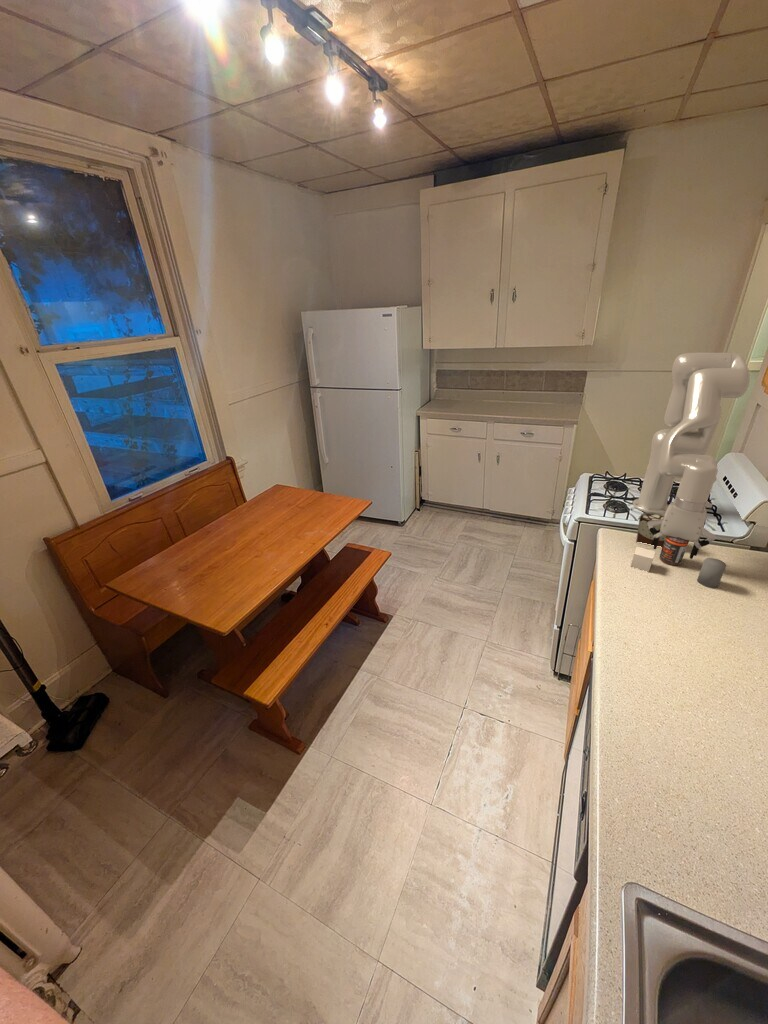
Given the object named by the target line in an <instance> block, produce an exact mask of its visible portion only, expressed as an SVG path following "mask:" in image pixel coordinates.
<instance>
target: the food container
mask: <svg viewBox="0 0 768 1024" xmlns="http://www.w3.org/2000/svg"><path fill="white" fill-rule="evenodd" d="M664 515H665V513H664V514H662V513H656V512H644V513H642V514H640V515H639V516H638V518H637V520H636V521H637V522H638V528H637V534H636V535H637V536H636V541H635V543H637V542H642V543H647V544H651V545H652V543H653V539H654V537H653V534H652V533H651V532H650V530H649V527H648V524H647V523H648V521H651V520H658V519H663V518H664ZM660 527H661V524H658V525H654V528H655V529H656V530H659V529H660ZM666 536H667V535H662V536H660V538H659V541H658V544H657V546H661V547H663V544H664V542H665V539H666Z"/></svg>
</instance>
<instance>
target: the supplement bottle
mask: <svg viewBox="0 0 768 1024" xmlns="http://www.w3.org/2000/svg"><path fill="white" fill-rule="evenodd" d="M689 543H690V541H689V540H684V539H681V538H679V537H672V536H668V535H667V536H666V539H665V542H664V544H663V547H662V548H661V550H660V553H659V557H658V558H659V559H660V561H661V562H663V563H664V564H666V565H671V566H678V565H680V564H682V561H683V559H684V557H685V554H686V551H687V548H688V546H689Z"/></svg>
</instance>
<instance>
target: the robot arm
mask: <svg viewBox="0 0 768 1024" xmlns="http://www.w3.org/2000/svg"><path fill="white" fill-rule="evenodd" d="M671 376H672V377H671V378H672V389H671V392H670V395H669V399H668V402H667V406H666V409H665V413H664V418H663V423H664V424H665V425H666V426H668V427H671V428H665V429H660V430H658V431H656V432H655V433H654V434H653V437H652V439H651V446H650V447H651V448H650V457H649V460H648V464H647V468H646V472H645V474H644V478H643V482H642V486H641V489H640V493H639V497H638V498H636V499H634V500H633V501H632V506H633V507H634V508H635V509H636V510H638V511H641V512H644V513H647V512H656V513H662V514H665V515H664V518H663V519H658V520H651V521H648V523H647V524H648V527H649V530H650V532H651V533H652V534H653V537H654V539H653V543H652V545H654V546H653V548H652V549H653V550H656V549H657V548H658V547H657V544H658V541H659V538H660V536H662V535H668V536H672V537H679V538H681V539H684V540H689V542H692V543H693V546H692V549H691V551H690V553H689V558H690V559H691V560H693V559H694V556H695V557H697V555H698V553H699V551H700V550H699V549H701V548H702V547H706V546H708V545H709V544H711V543H712V542H714V541H715V540H716V537H717V535H715V534H714V533H712V532H710V530H708V529H706V528H704V526H705V522H706V518H707V512H708V511H707V510H708V509H712V507H713V503H711V502H709V501H708V499H709V496H710V494H711V491H712V489H713V485H714V483H715V481H716V478H717V475H718V472H719V471H718V462H717V461H716V458H715V457H713V456H712V455H708V454H707V453H708V451H709V450H710V447H711V444H712V443H713V439H714V437H715V434H716V431H717V428H718V426H719V423H720V421H721V419H722V406H721V400H722V399H724V398H725V399H738V398H739V399H740V398H742V397H744V395H745V394H746V393H747V391H748V389H749V387H750V380H751V377H750V376H751V375H750V371H749V368H748V365H747V363H746V361H745V359H744V357H743V355H742V354H741V353H737V352H707V351H706V352H700V351H699V352H686V353H680V354H679V355H677V356H676V357H675V359H674V361H673V363H672V368H671ZM675 478H680V479H681V480H680V482H679V483H680V484H679V486H678V489H677V492H676V493H675V494H676V495H675V498H674V500H673V501H671V502H670V504H668V501H669V497H670V494H671V491H672V488H673V484H674V482H675ZM658 524H661V527H660V529H659V530H656V529H655V528H654V525H658ZM702 534H703V535H704V536H705V537H707V538H705V539H703V540H701V539H700V538H701V536H702Z"/></svg>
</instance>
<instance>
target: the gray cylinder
mask: <svg viewBox="0 0 768 1024" xmlns="http://www.w3.org/2000/svg"><path fill="white" fill-rule="evenodd" d="M726 568H727V564H726V562H724V561H722V560H720V559H718V558H714V557H707V558H705V559H704V561H703V564H702V566H701V568H700V571H699V574H698V576H697V579H696V581H697V583H699V584H700V585H701V586H702V587H703V586H704V587H706V588H708V589H709V588H711V589H715V588H718V587H719V585H720V582H721V581H722V577H723V576H724V573H725V572H726Z"/></svg>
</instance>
